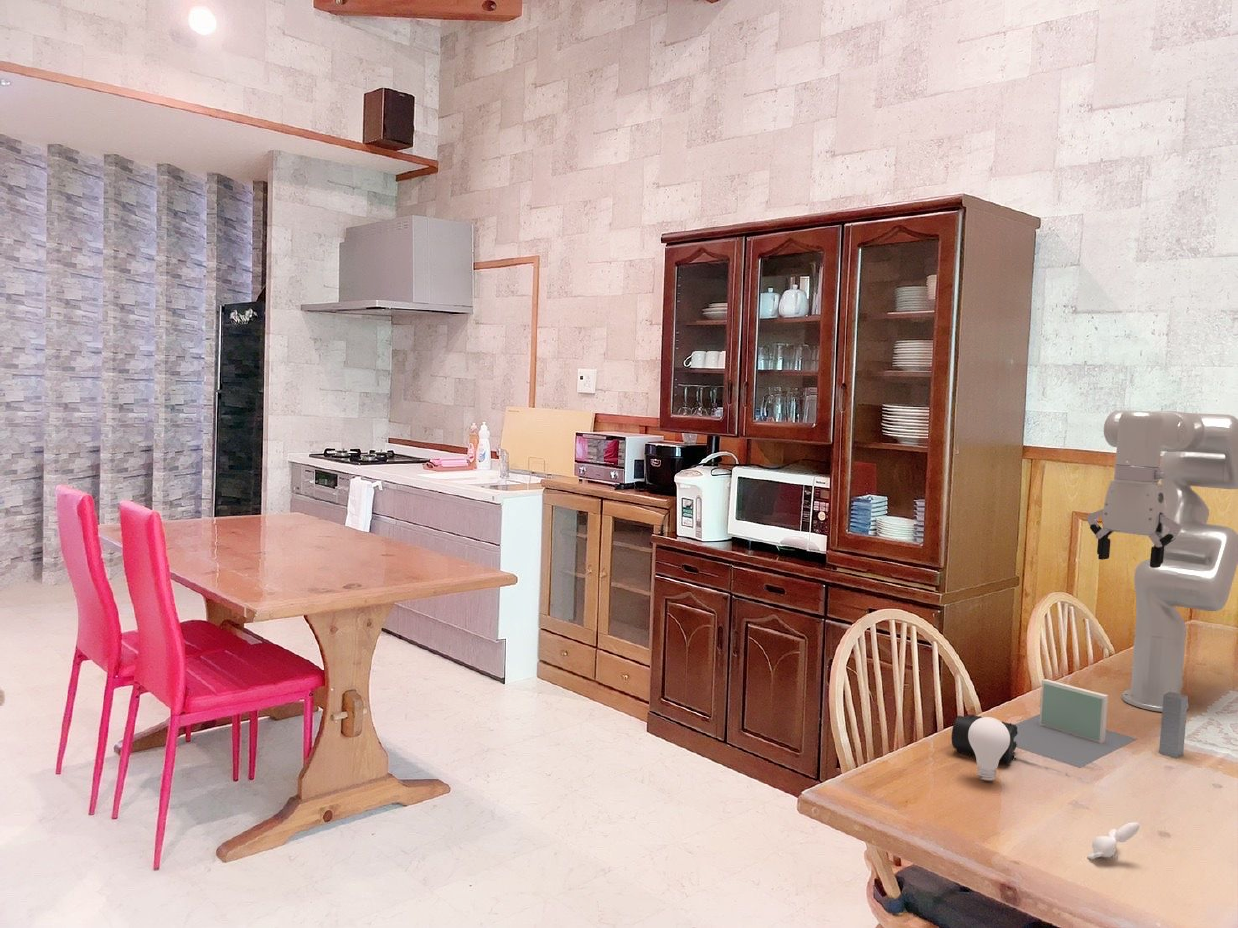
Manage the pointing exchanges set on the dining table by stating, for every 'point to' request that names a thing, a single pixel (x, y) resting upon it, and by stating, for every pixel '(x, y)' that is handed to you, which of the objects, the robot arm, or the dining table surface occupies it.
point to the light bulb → (988, 745)
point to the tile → (1073, 710)
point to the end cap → (962, 741)
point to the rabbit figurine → (1112, 840)
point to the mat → (1065, 743)
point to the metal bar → (1173, 724)
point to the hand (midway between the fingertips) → (1128, 563)
